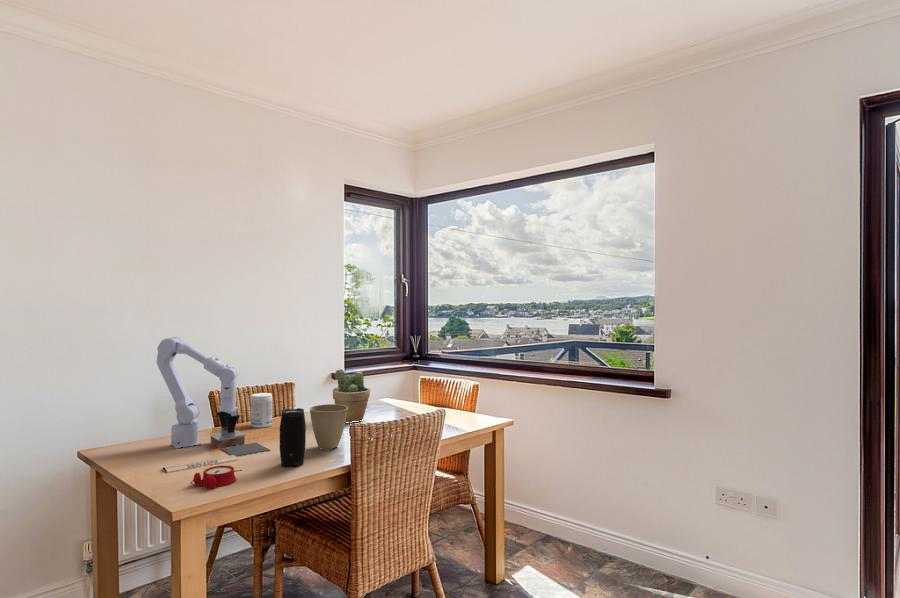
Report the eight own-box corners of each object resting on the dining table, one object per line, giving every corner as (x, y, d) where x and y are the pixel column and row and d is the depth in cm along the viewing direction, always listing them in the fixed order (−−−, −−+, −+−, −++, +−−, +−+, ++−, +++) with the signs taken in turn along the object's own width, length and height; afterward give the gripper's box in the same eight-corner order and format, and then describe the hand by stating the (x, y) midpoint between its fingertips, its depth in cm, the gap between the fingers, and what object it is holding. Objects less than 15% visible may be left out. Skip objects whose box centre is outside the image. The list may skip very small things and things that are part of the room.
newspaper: (232, 458, 203) (232, 453, 203) (238, 462, 198) (238, 458, 198) (162, 471, 188) (162, 465, 188) (167, 476, 182) (167, 470, 182)
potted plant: (371, 416, 275) (372, 367, 275) (368, 425, 257) (368, 372, 257) (335, 416, 274) (335, 367, 274) (329, 425, 256) (329, 372, 256)
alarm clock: (245, 468, 178) (207, 470, 165) (242, 488, 177) (203, 491, 164) (224, 463, 183) (185, 464, 170) (220, 482, 182) (181, 485, 169)
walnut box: (219, 448, 214) (219, 440, 214) (210, 443, 222) (211, 435, 222) (244, 443, 221) (244, 436, 221) (235, 439, 229) (235, 432, 229)
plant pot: (304, 452, 210) (305, 411, 210) (315, 442, 225) (315, 403, 225) (342, 453, 210) (343, 411, 210) (350, 443, 224) (351, 404, 225)
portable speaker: (298, 468, 189) (298, 413, 189) (274, 466, 191) (274, 411, 191) (310, 461, 198) (310, 408, 198) (286, 459, 200) (287, 406, 200)
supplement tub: (267, 422, 260) (268, 392, 260) (275, 426, 253) (275, 394, 253) (247, 425, 254) (247, 394, 254) (254, 429, 246) (255, 396, 246)
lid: (218, 442, 214) (219, 431, 214) (210, 437, 222) (210, 426, 222) (245, 438, 221) (245, 427, 221) (235, 433, 229) (236, 422, 229)
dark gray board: (233, 457, 202) (233, 456, 202) (220, 449, 213) (220, 448, 213) (269, 450, 212) (269, 449, 212) (256, 443, 222) (256, 442, 222)
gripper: (244, 398, 219) (244, 432, 219) (231, 394, 230) (231, 426, 230) (226, 400, 214) (226, 435, 214) (214, 395, 225) (214, 428, 225)
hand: (227, 430), depth 221 cm, fingers open, 7 cm apart
